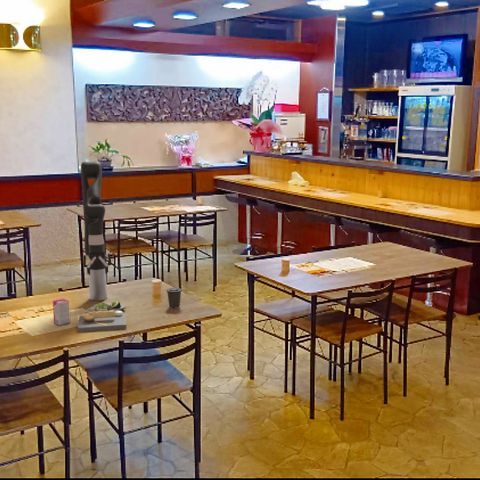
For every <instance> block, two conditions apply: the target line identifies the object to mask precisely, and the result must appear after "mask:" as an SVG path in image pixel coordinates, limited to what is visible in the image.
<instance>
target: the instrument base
mask: <svg viewBox="0 0 480 480" xmlns="http://www.w3.org/2000/svg"><path fill="white" fill-rule="evenodd" d="M77 325H78V326H77V329H78V330H77V332H78V333H82V332H83V333H84V332H85V333H87V332H99V331H100V332H101V331H110V330H111V331H112V330H123V329H126V330H127V319H126V313H125V312H123V310H122V311H116V312H115V317H111V318H96V319H95V321H93V322H85V321H84V315H79V316H78V323H77Z"/></svg>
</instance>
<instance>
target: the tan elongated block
mask: <svg viewBox="0 0 480 480" xmlns="http://www.w3.org/2000/svg"><path fill="white" fill-rule="evenodd" d="M83 316H84V321H85V322H93V321H95V319H96V318H111V317H115V310H111V311H97V310H94V311H93V312H89V313H87V312H86V313H84V314H83Z"/></svg>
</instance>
